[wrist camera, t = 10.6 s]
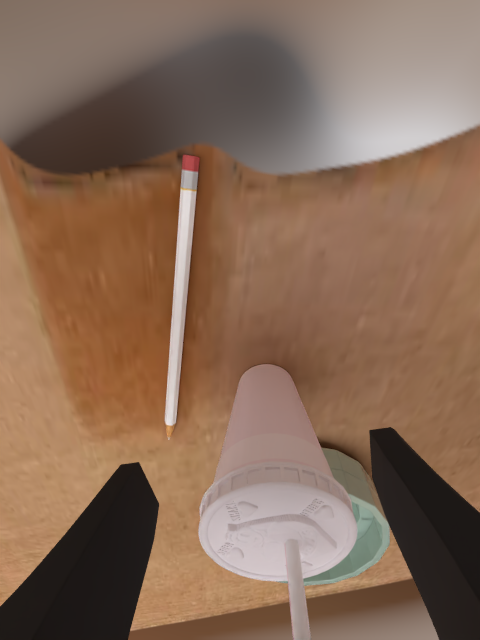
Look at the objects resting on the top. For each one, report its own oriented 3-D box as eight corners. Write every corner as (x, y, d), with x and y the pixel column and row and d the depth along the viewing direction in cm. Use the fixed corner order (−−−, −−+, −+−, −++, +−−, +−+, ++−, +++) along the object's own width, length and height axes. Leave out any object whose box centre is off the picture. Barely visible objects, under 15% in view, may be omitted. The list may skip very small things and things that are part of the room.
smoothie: (301, 429, 23) (366, 752, 10) (212, 417, 23) (166, 733, 10) (325, 353, 20) (453, 665, 8) (224, 339, 20) (180, 636, 7)
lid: (366, 431, 23) (388, 480, 19) (372, 524, 27) (390, 578, 24) (221, 450, 24) (216, 501, 20) (249, 537, 28) (249, 590, 25)
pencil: (200, 157, 16) (198, 156, 15) (175, 437, 24) (173, 444, 23) (184, 154, 16) (181, 154, 15) (164, 435, 24) (162, 442, 23)
